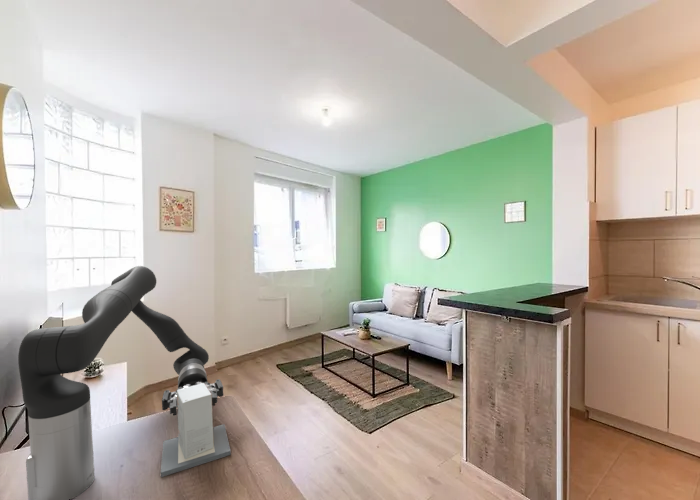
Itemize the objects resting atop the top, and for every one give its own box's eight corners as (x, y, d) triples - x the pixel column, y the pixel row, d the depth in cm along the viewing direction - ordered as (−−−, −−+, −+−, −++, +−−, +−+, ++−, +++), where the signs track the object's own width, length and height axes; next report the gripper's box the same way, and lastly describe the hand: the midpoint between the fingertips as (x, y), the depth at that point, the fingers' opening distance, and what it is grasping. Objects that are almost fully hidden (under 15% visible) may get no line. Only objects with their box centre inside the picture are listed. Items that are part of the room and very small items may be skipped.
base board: (160, 477, 67) (160, 472, 67) (163, 444, 78) (163, 440, 77) (230, 454, 74) (230, 450, 73) (224, 427, 84) (224, 423, 84)
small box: (214, 448, 74) (212, 394, 74) (184, 460, 70) (182, 403, 70) (205, 431, 81) (204, 381, 80) (178, 441, 77) (175, 389, 76)
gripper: (163, 373, 88) (160, 399, 74) (218, 362, 95) (225, 384, 80) (164, 399, 88) (161, 430, 74) (219, 387, 95) (226, 413, 81)
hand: (194, 406), depth 77 cm, fingers open, 8 cm apart
